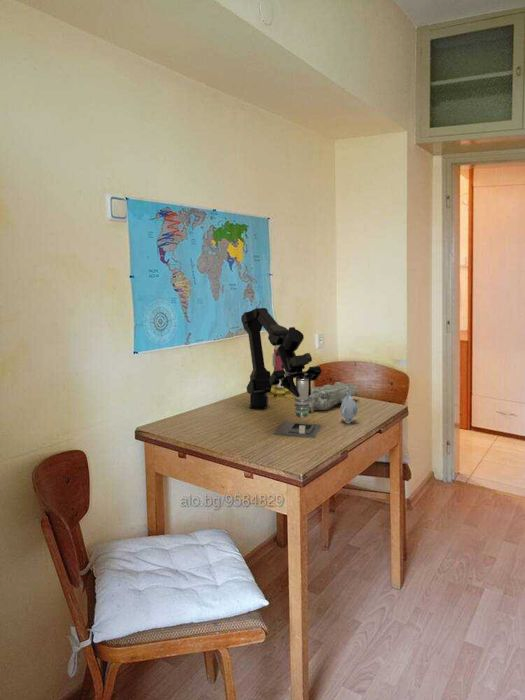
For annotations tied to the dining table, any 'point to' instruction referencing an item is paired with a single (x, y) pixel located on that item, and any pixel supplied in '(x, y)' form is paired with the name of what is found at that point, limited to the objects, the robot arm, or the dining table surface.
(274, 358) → the toy rocket
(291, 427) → the stand base
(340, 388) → the stone
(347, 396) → the toy figure
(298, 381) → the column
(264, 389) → the robot arm
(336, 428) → the dining table surface
